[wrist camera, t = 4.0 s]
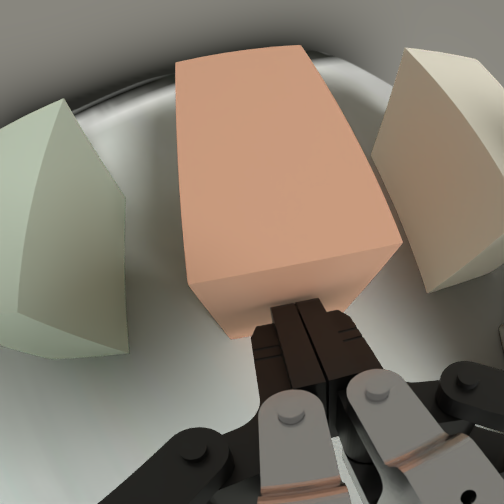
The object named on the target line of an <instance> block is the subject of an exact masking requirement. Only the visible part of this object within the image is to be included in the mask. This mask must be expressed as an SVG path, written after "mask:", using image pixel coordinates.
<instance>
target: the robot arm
mask: <svg viewBox="0 0 504 504" xmlns="http://www.w3.org/2000/svg"><path fill="white" fill-rule="evenodd" d="M270 311H271V318H272V324H266V325H261V326H256V328H255V330H254V332H253V334H252V336H251V342H252V349H253V356H254V363H255V369H256V376H257V383H258V389H259V396H260V406H259V409H258V411H257V413H256V415H255V416H254V417H253V418H252V419H251V420H250V421H249V422H248V423H247V424H245V425H244V426H242V427H240V428H238V429H235V430H233V431H230V432H228V433H225V434H223V435H221V434H220V433H218V432H217V431H215V430H212V429H209V428H202V427H198V428H190V429H186V430H184V431H181V432H179V433H177V434H176V435H174V436H173V437H172V438H171V439H170V440H169V441H168V442H167V443H165V444H164V445H163V446H162V447H161V448H160V449H159V450H158V451H157V452H156V453H155V454H154V455H153V456H152V457H151V458H149V459H148V460H147V461H146V462H145V463H144V464H143V465H142V466H141V467H140V468H138V469H137V470H136V471H135V472H134V473H133V474H132V475H131V476H129V477H128V478H127V479H126V480H125V481H124V482H123V483H122V484H120V485H119V486H118V487H117V488H116V489H115V490H113V491H112V492H111V493H110V494H109V495H108V496H106V497H105V498H104V499H103V500H102V501H100V502H99V503H98V504H351V500H350V496H349V492H348V489H347V487H346V485H345V483H343V482H342V481H341V478H340V474H339V470H338V465H337V461H336V457H335V452H334V448H333V444H332V440H331V438H333V437H336V436H339V438H340V440H341V443H342V446H343V449H342V458H343V461H344V463H345V466H346V468H347V470H348V472H349V474H350V476H351V479H352V481H353V483H354V485H355V487H356V489H357V492H358V494H359V496H360V498H361V500H362V502H363V504H504V435H503V434H500V433H496V432H493V431H489V430H486V429H483V428H479V427H476V426H475V424H478V425H481V426H484V427H487V428H491V429H494V430H498V431H501V432H504V371H503V370H499V369H496V368H492V367H489V366H485V365H481V364H478V363H474V362H469V361H461V362H456V363H453V364H451V365H449V366H448V367H447V368H446V369H445V370H444V371H443V373H442V375H441V378H440V380H436V381H427V382H415V383H411V382H405V381H404V379H403V378H402V377H401V376H399V375H398V374H396V373H394V372H392V371H389V370H385V369H383V367H382V366H381V364H380V363H379V361H378V359H377V358H376V356H375V355H374V353H373V352H372V350H371V348H370V347H369V345H368V344H367V342H366V341H365V339H364V338H362V335H361V333H360V331H359V330H358V329H357V327H356V325H355V324H354V322H353V321H352V319H351V318H350V317H349V316H348V315H346V314H344V313H343V312H341V311H339V310H333V311H329V312H327V311H326V310H325V308H324V306H323V304H322V303H321V301H320V299H319V298H314V299H309V300H304V301H299V302H295V304H294V303H290V304H285V305H280V306H274V307H270Z"/></svg>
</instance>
